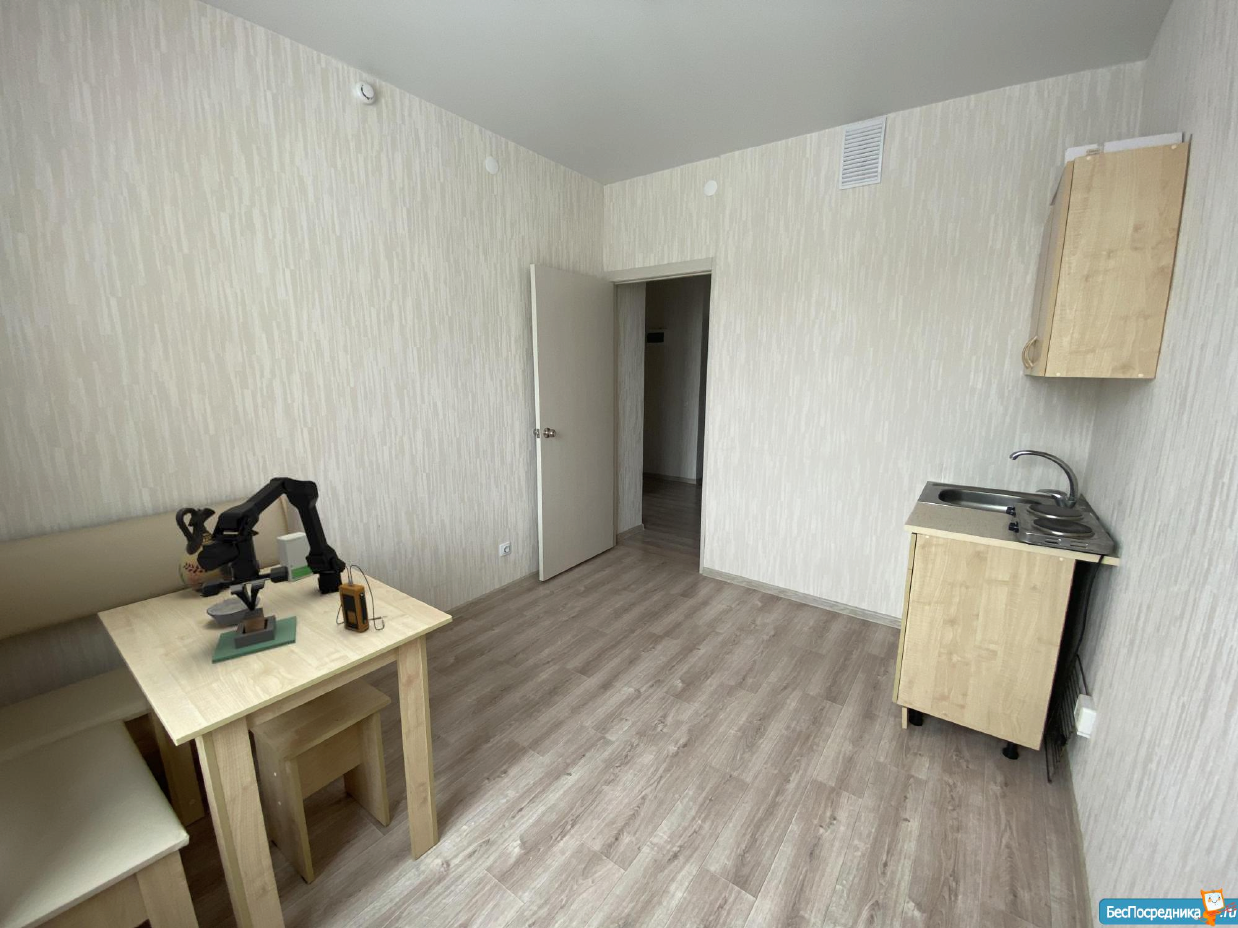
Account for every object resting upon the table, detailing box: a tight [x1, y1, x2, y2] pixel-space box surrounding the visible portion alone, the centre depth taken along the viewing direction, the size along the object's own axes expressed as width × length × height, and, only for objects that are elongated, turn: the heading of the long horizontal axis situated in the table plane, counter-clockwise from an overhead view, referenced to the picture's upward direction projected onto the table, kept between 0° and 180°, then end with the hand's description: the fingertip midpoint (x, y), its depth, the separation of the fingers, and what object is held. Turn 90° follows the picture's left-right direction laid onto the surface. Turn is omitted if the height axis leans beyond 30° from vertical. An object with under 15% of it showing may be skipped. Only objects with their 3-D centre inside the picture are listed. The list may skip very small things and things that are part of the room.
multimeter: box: [335, 562, 387, 633], centre depth 147 cm, size 15×10×20 cm
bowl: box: [206, 594, 261, 626], centre depth 154 cm, size 13×13×5 cm
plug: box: [243, 606, 266, 634], centre depth 141 cm, size 4×6×7 cm
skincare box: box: [276, 531, 315, 583], centre depth 184 cm, size 8×7×16 cm
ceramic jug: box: [175, 507, 233, 596], centre depth 173 cm, size 17×15×30 cm
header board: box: [211, 614, 297, 665], centre depth 141 cm, size 18×16×4 cm
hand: (252, 610), depth 140 cm, fingers closed
